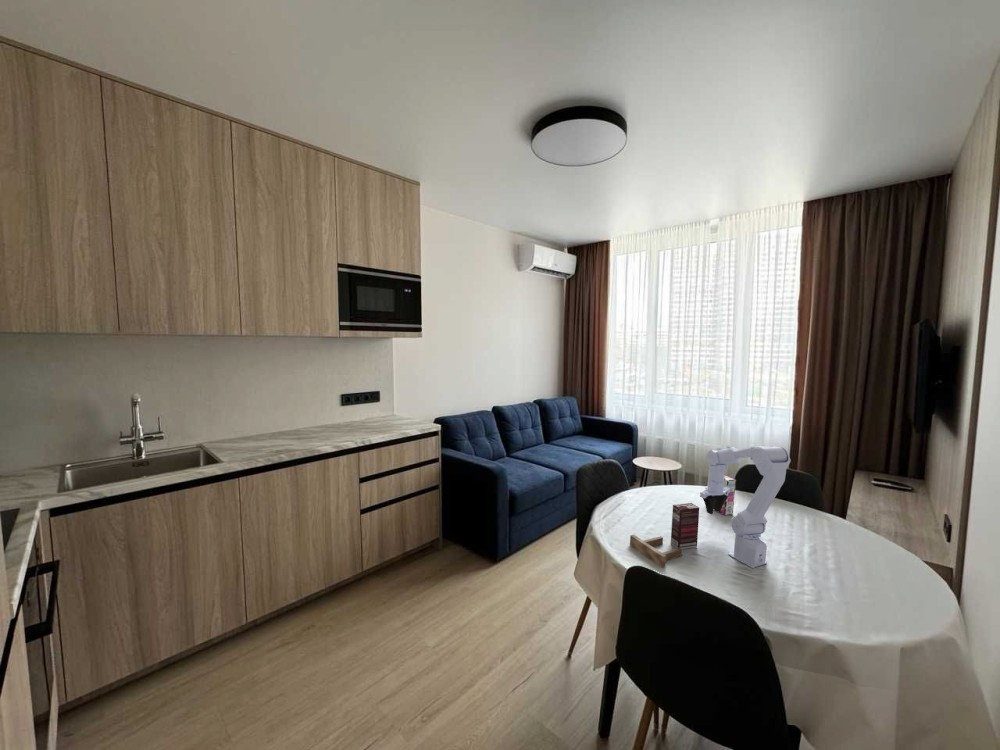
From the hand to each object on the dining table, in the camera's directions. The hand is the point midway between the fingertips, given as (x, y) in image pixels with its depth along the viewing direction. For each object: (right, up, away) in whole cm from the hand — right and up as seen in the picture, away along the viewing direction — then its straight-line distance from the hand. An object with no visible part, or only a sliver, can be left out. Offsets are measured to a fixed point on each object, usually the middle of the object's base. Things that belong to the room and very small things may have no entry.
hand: (713, 512), depth 165 cm
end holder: (-27, -10, -13) cm, 32 cm away
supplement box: (-16, -10, -8) cm, 20 cm away
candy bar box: (+16, -7, +25) cm, 30 cm away
